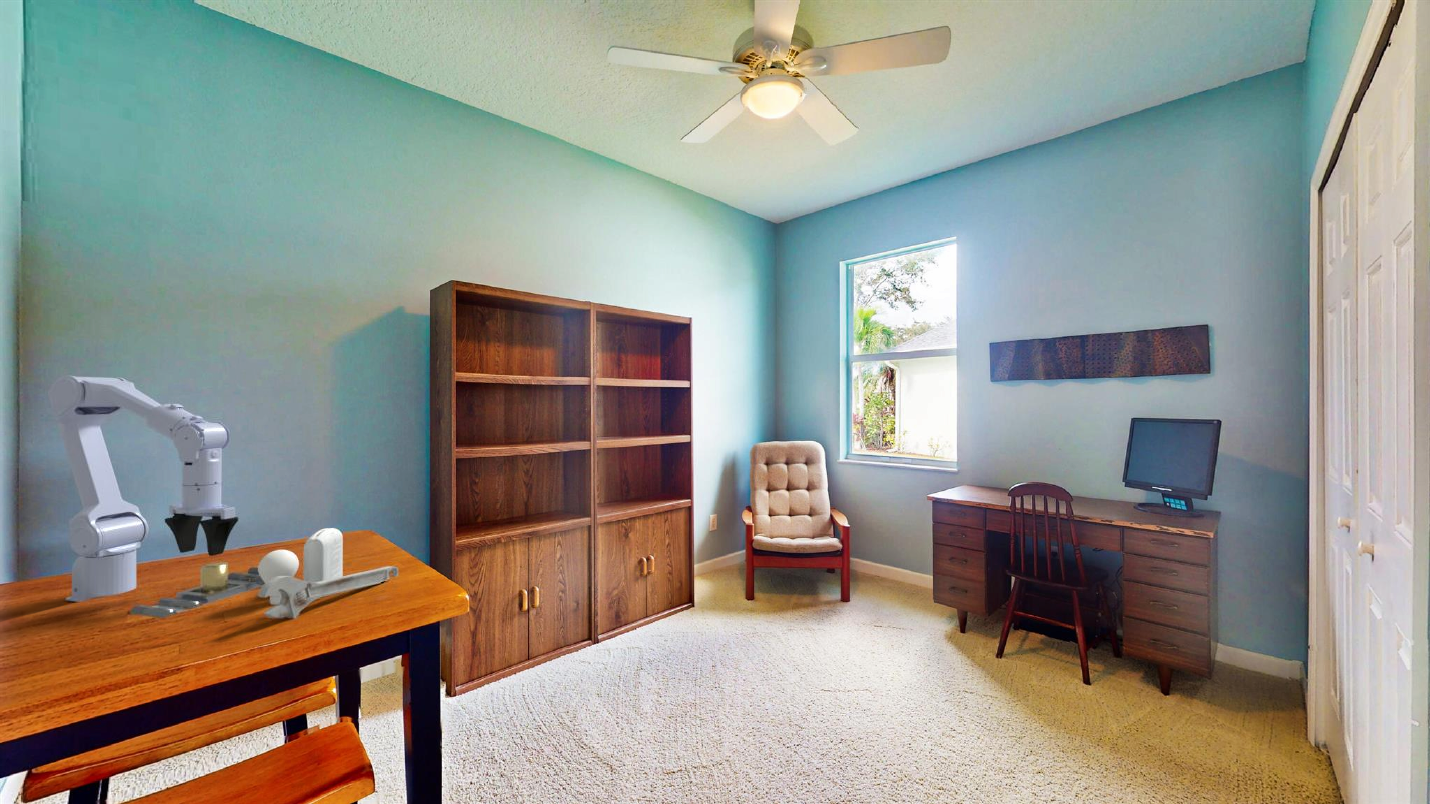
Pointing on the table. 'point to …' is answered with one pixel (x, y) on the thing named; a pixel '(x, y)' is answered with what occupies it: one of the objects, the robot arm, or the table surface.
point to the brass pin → (214, 577)
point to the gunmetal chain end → (235, 586)
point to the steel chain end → (167, 607)
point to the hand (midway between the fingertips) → (201, 553)
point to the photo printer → (323, 556)
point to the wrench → (316, 589)
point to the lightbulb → (277, 568)
